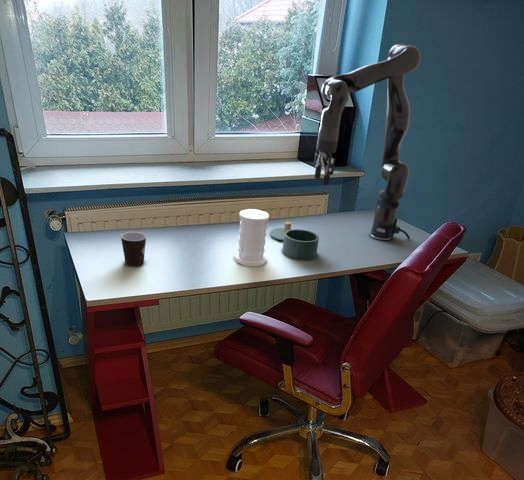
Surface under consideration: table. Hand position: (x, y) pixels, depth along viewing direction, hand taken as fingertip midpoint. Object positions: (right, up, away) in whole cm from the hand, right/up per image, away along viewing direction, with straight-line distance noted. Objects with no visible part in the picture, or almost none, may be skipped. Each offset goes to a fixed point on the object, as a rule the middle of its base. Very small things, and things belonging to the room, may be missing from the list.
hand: (321, 181), depth 208 cm
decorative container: (-28, -32, -6) cm, 43 cm away
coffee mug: (-68, -35, -17) cm, 79 cm away
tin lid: (-13, -17, +18) cm, 28 cm away
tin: (-8, -28, +4) cm, 29 cm away
